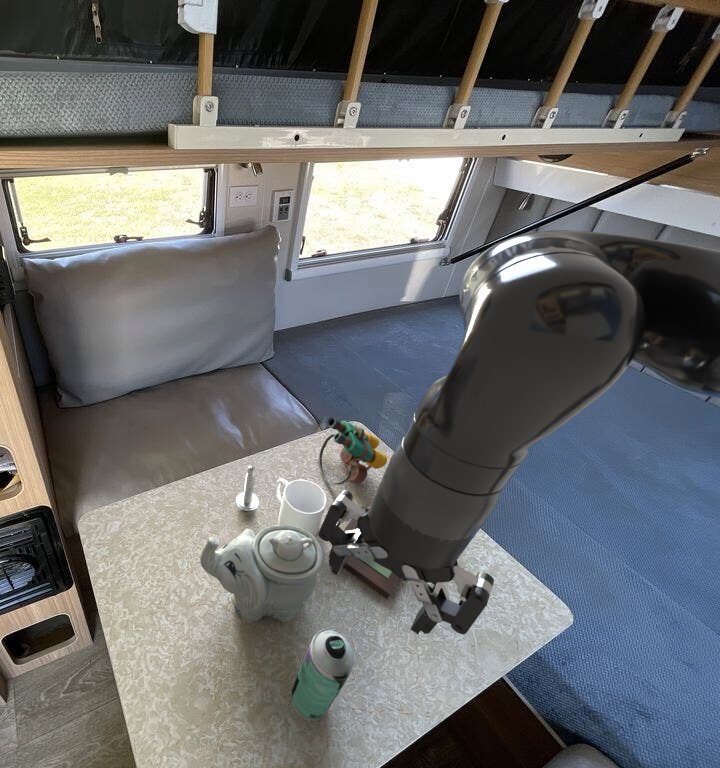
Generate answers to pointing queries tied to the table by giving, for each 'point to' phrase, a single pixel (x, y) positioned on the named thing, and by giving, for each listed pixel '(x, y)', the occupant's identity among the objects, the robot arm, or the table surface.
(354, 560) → the brown wooden square frame
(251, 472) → the screw
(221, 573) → the teapot
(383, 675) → the table surface
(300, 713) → the spray can
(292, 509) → the cup
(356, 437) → the binoculars
